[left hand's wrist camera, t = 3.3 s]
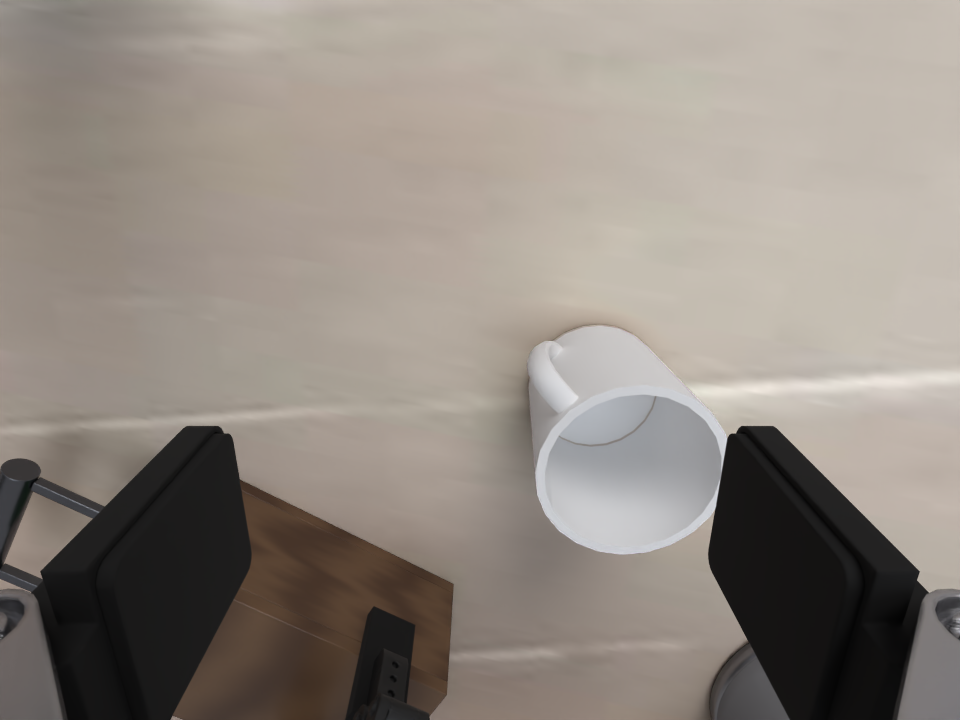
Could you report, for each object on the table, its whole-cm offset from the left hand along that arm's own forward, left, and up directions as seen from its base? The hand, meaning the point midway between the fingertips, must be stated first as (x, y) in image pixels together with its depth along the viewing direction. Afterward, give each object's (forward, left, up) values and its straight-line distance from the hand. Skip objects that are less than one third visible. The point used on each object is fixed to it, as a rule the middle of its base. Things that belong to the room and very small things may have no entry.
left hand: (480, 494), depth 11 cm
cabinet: (-9, -25, -24) cm, 36 cm away
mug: (+7, -6, -24) cm, 26 cm away
